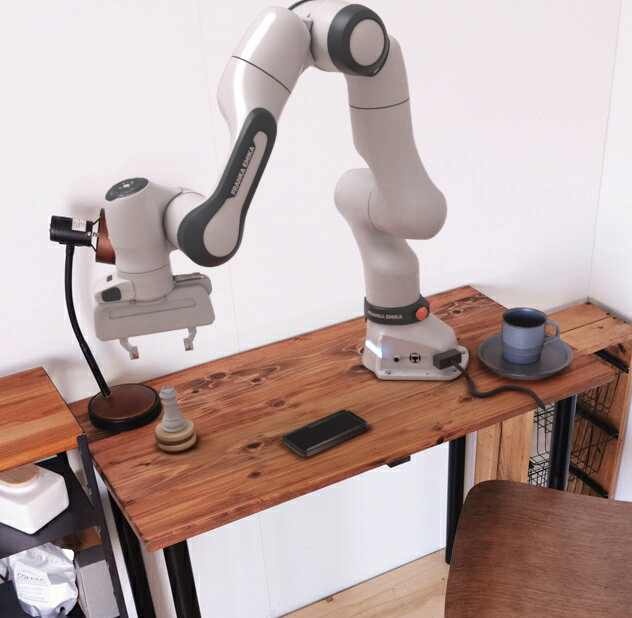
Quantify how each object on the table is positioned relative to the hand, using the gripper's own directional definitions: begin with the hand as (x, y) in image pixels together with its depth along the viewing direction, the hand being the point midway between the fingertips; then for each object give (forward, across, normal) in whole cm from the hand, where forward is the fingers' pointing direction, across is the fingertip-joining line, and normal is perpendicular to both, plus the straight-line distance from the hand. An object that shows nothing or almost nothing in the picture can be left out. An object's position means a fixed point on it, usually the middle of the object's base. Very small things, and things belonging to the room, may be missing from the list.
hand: (162, 353), depth 159 cm
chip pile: (+18, +1, 0) cm, 19 cm away
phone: (+19, -26, +6) cm, 33 cm away
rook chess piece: (+15, 0, 0) cm, 15 cm away
